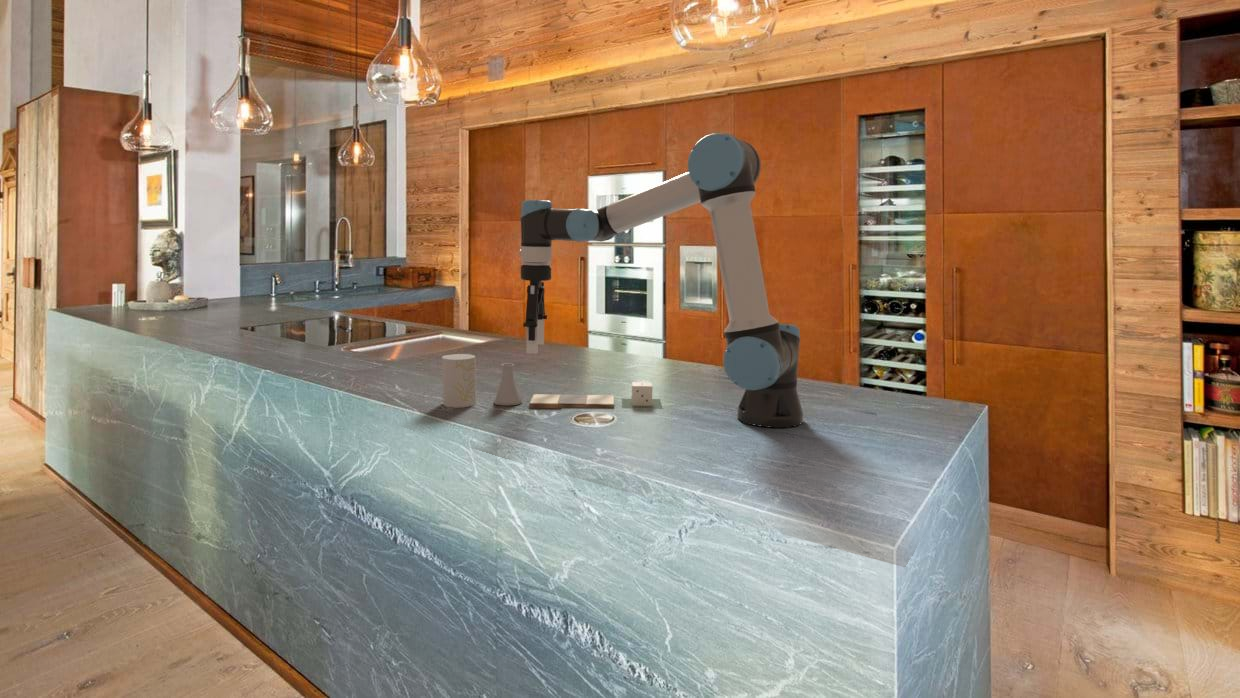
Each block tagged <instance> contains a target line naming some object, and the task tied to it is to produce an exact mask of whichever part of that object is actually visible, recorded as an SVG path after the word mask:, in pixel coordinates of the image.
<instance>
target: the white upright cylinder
mask: <svg viewBox="0 0 1240 698" xmlns="http://www.w3.org/2000/svg"><path fill="white" fill-rule="evenodd" d="M476 367H477V366H476V355H474V354H470V353H454V354H447V355H445V354H444V355H442V357H441V370H442V371H441V372H442V373H441V374H442V402H443V403H442V404H443V406H444V407H447V408H456V409H457V408H458V409H459V408H469V407H472V406H475V405H476V404H477V376H476V375H477V373H476V372H477V371H476V369H477V368H476Z"/></svg>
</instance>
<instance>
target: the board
mask: <svg viewBox="0 0 1240 698" xmlns="http://www.w3.org/2000/svg"><path fill="white" fill-rule="evenodd" d="M528 408H529V409H563V408H573V409H574V408H575V409H577V408H586V409H587V408H589V409H590V408H592V409H598V408H601V409H614V408H615V396H614V395H613V394H612V395H611V394H608V395H607V394H549V393H548V394H542V393H541V394H540V393H536V394H535V393H534V394H533V396H532V398H531V399H530V401H529V405H528Z"/></svg>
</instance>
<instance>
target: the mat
mask: <svg viewBox="0 0 1240 698" xmlns="http://www.w3.org/2000/svg"><path fill="white" fill-rule="evenodd" d="M621 407H622V409H663V405H662V402H661V399H660V398H652V406H632V398H621Z"/></svg>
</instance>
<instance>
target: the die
mask: <svg viewBox="0 0 1240 698" xmlns="http://www.w3.org/2000/svg"><path fill="white" fill-rule="evenodd" d="M652 383H653V382H651V381H631V397H630V399H632V406H652V399H653V384H652Z"/></svg>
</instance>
